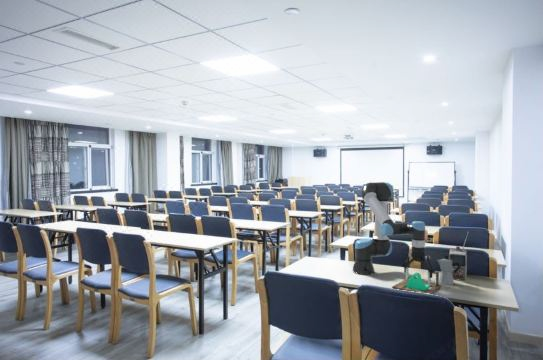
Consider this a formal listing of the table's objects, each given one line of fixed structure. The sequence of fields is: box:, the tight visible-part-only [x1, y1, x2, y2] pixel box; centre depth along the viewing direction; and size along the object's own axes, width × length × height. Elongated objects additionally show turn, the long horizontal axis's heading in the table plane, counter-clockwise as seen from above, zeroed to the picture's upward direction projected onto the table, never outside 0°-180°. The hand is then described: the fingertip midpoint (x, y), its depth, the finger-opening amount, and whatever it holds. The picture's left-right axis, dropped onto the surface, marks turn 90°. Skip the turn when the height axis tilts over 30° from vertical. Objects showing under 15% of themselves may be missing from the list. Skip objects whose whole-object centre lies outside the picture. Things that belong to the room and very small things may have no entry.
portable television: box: [448, 231, 469, 281], centre depth 250 cm, size 12×24×30 cm, turn 152°
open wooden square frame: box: [391, 270, 441, 295], centre depth 226 cm, size 22×21×10 cm
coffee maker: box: [436, 254, 461, 285], centre depth 236 cm, size 15×9×18 cm, turn 45°
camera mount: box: [405, 272, 430, 292], centre depth 225 cm, size 12×8×10 cm, turn 50°
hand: (417, 280), depth 226 cm, fingers open, 13 cm apart
